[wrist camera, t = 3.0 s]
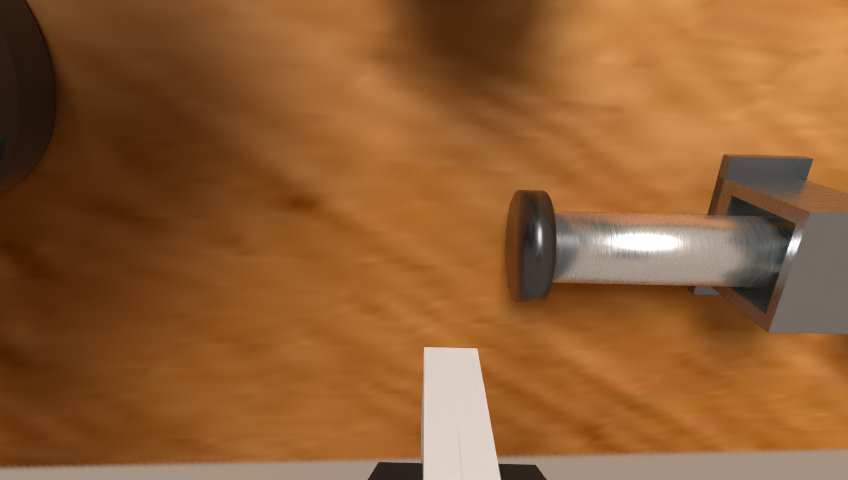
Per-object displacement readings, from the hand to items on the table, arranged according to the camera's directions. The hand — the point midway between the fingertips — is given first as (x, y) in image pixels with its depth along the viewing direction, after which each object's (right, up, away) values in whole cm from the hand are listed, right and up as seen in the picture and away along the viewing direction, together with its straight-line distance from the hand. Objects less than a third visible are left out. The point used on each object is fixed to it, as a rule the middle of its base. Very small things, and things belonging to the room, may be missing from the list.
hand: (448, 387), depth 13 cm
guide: (+18, +5, +14) cm, 23 cm away
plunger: (+12, +5, +13) cm, 18 cm away
